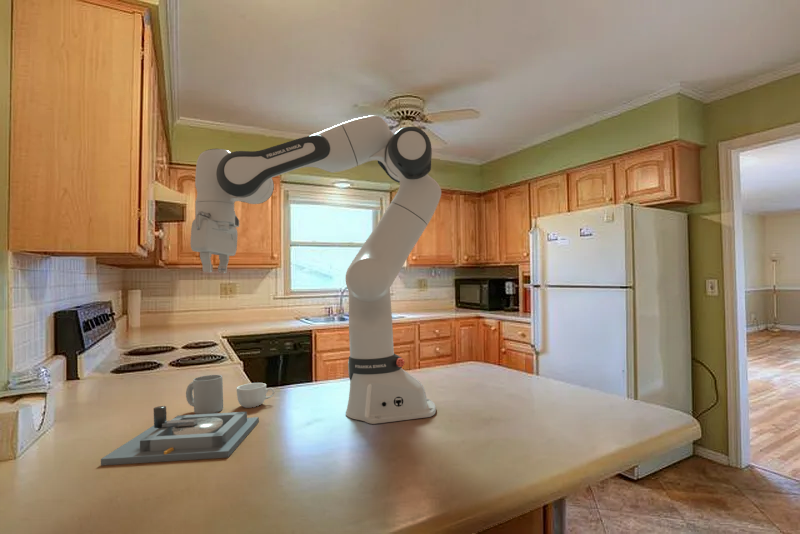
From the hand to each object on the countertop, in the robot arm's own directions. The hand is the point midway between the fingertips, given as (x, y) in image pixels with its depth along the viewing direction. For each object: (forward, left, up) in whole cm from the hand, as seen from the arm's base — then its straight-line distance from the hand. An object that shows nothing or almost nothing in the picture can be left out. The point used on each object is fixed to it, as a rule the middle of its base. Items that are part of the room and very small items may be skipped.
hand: (215, 272), depth 105 cm
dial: (+3, +11, -35) cm, 37 cm away
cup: (+9, -12, -37) cm, 40 cm away
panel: (+3, +11, -37) cm, 38 cm away
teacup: (-4, -15, -37) cm, 40 cm away
